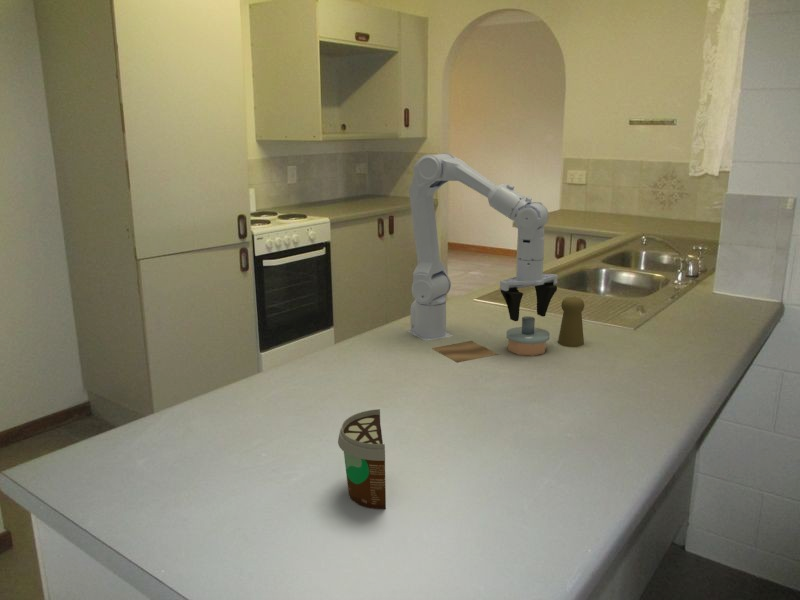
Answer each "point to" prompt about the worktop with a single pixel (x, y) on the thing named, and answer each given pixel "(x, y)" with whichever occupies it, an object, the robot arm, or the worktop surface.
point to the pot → (526, 348)
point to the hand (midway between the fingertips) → (527, 317)
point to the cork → (571, 322)
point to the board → (464, 351)
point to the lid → (528, 332)
